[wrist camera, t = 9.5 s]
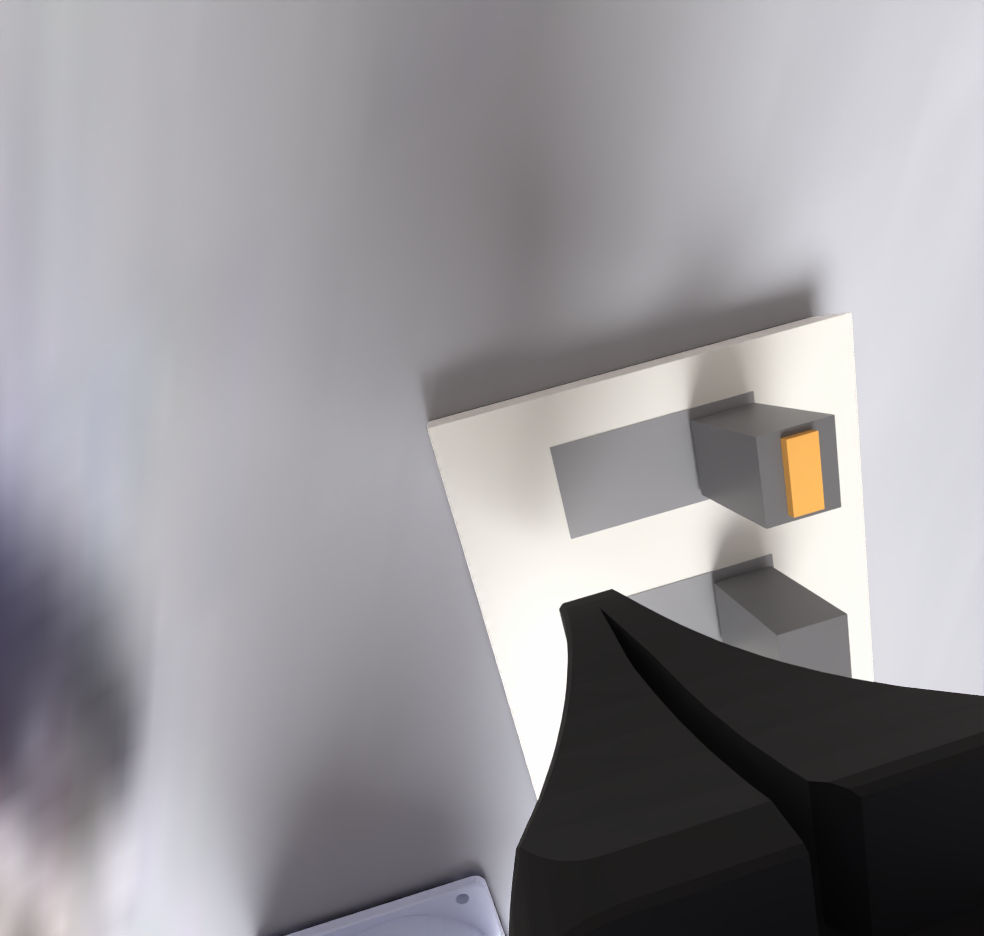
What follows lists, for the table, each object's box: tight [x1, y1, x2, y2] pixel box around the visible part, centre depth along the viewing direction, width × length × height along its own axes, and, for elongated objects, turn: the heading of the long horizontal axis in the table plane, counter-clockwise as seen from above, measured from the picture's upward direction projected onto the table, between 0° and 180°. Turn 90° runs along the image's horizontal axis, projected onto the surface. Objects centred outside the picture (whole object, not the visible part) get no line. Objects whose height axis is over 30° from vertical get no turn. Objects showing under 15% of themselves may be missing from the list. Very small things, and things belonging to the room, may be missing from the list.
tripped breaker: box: [691, 403, 841, 529], centre depth 13 cm, size 2×2×3 cm
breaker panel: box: [427, 312, 874, 801], centre depth 15 cm, size 13×17×5 cm
